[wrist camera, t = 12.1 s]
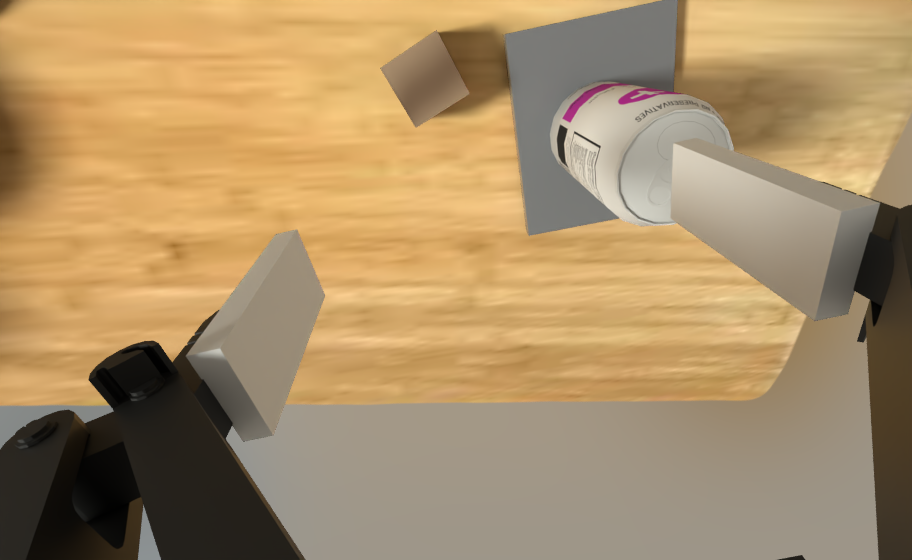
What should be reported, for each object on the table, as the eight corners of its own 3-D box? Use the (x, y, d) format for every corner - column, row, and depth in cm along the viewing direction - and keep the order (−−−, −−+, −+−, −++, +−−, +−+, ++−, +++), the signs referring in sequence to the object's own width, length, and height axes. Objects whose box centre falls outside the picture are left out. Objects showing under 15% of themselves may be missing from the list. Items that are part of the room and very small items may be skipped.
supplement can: (570, 67, 37) (648, 76, 23) (655, 99, 38) (773, 124, 25) (534, 160, 40) (583, 213, 27) (612, 185, 42) (696, 248, 28)
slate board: (503, 34, 36) (505, 34, 35) (670, -2, 36) (677, -3, 35) (526, 231, 45) (528, 235, 44) (662, 205, 44) (668, 208, 43)
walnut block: (386, 66, 37) (380, 68, 33) (436, 32, 36) (436, 30, 32) (418, 119, 39) (415, 127, 35) (465, 89, 38) (469, 93, 34)
